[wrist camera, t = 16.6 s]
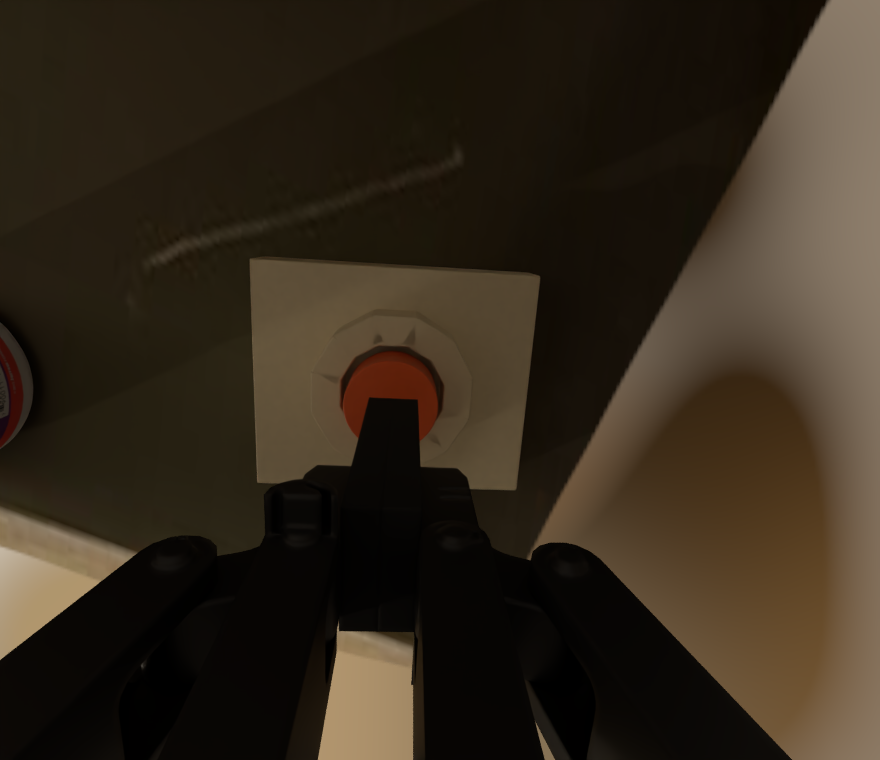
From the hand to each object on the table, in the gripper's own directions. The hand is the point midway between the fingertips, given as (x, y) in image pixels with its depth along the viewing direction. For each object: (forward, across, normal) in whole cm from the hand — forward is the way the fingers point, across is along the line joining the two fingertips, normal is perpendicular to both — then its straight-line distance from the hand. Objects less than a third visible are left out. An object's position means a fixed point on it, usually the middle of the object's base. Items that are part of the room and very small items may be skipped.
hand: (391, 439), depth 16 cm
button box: (+9, 0, 0) cm, 9 cm away
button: (+5, 0, 0) cm, 5 cm away
